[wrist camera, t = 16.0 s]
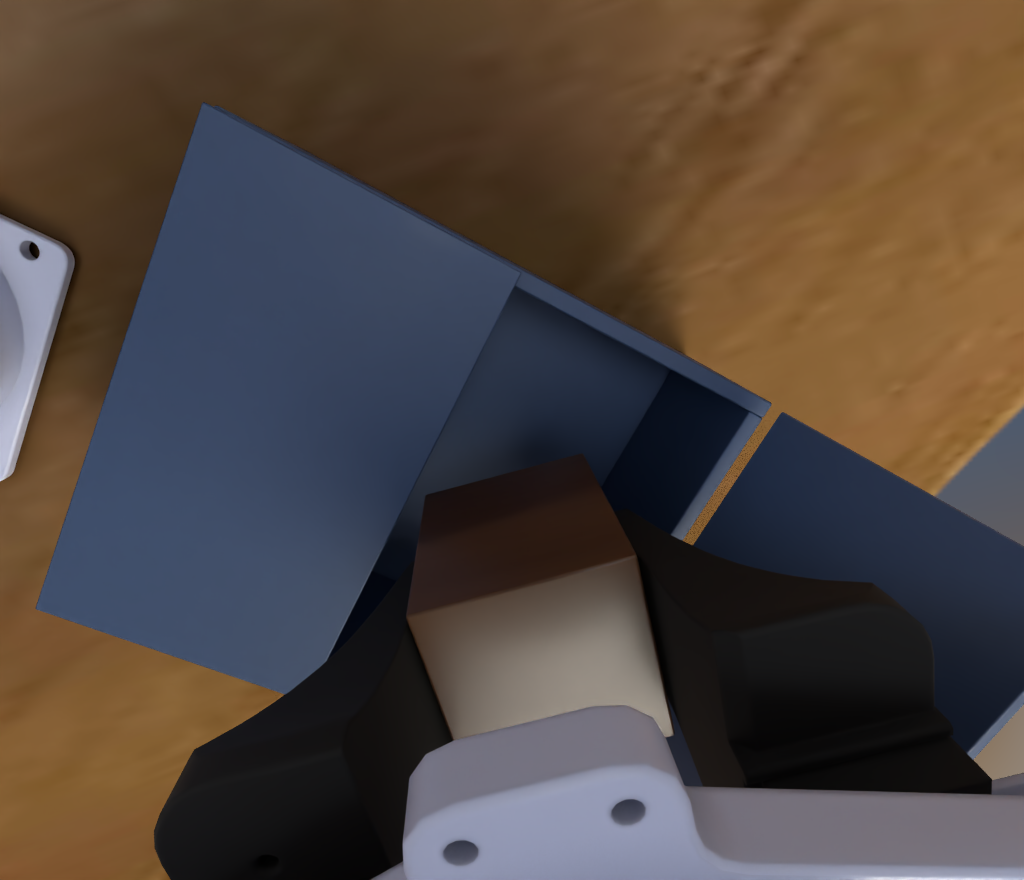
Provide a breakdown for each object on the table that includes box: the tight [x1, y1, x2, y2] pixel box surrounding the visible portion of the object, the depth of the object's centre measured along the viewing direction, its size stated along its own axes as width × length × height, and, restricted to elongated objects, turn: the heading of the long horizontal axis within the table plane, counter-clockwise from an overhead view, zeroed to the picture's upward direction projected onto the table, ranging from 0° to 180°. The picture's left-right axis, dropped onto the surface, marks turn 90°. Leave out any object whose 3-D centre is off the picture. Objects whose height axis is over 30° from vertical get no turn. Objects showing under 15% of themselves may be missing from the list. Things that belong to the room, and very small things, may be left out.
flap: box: [666, 412, 1024, 787], centre depth 12 cm, size 6×12×1 cm
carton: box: [36, 102, 771, 694], centre depth 17 cm, size 13×12×7 cm
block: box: [406, 453, 675, 741], centre depth 13 cm, size 4×4×5 cm
